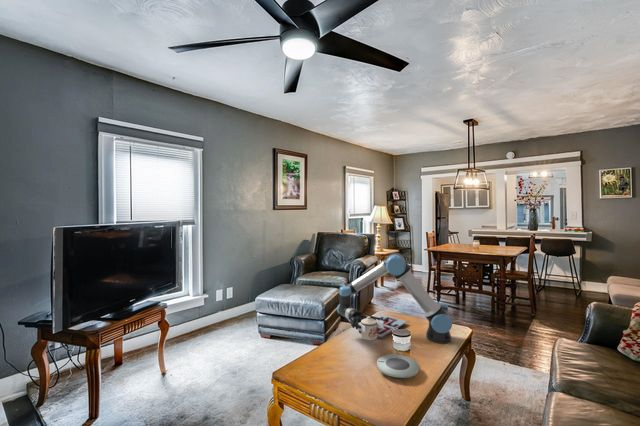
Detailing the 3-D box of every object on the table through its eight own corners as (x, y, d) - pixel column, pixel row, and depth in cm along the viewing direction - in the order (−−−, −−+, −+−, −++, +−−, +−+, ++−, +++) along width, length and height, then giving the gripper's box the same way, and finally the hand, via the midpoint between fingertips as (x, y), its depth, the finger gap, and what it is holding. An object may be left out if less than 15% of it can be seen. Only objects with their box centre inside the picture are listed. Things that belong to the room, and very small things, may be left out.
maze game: (380, 341, 197) (380, 336, 197) (356, 332, 211) (356, 328, 211) (407, 325, 222) (407, 321, 222) (383, 319, 236) (383, 314, 236)
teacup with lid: (370, 341, 169) (369, 320, 169) (357, 336, 176) (357, 316, 176) (383, 335, 177) (383, 315, 177) (371, 331, 184) (370, 311, 184)
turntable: (419, 360, 166) (419, 357, 166) (418, 381, 146) (418, 377, 146) (379, 354, 173) (379, 351, 173) (374, 373, 153) (374, 370, 153)
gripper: (369, 318, 198) (391, 329, 179) (336, 324, 187) (356, 338, 168) (369, 306, 198) (391, 317, 179) (336, 312, 187) (356, 324, 168)
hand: (374, 327), depth 173 cm, fingers closed on teacup with lid, 12 cm apart
